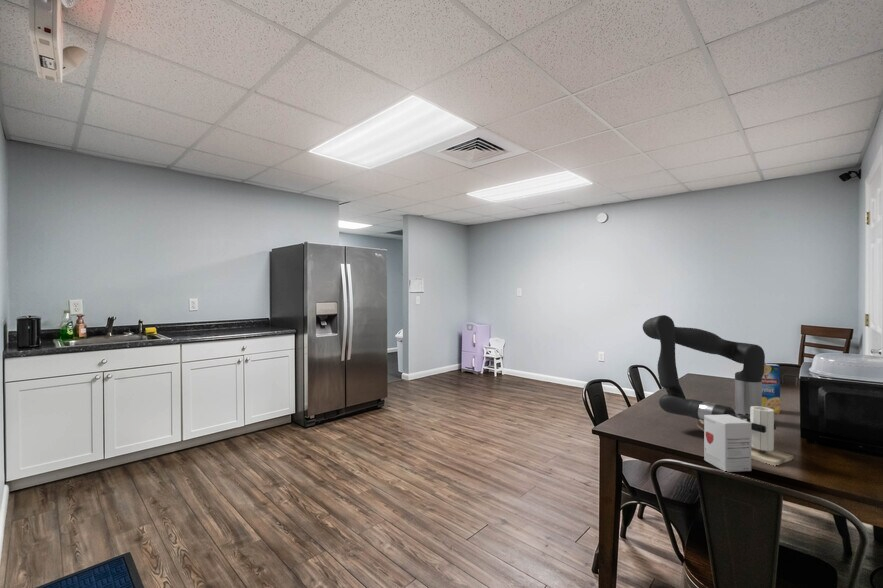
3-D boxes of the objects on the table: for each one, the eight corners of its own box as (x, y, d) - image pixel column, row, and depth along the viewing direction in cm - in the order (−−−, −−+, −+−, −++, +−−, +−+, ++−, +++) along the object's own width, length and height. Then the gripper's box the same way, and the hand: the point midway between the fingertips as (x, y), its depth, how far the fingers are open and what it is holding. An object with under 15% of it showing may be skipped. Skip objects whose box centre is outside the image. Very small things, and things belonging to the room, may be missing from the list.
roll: (755, 442, 135) (755, 405, 135) (777, 449, 130) (777, 410, 130) (746, 445, 133) (746, 407, 133) (768, 452, 127) (768, 412, 127)
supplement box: (702, 460, 128) (702, 414, 128) (728, 459, 128) (728, 413, 129) (725, 472, 119) (725, 423, 119) (752, 471, 119) (752, 422, 119)
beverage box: (780, 413, 179) (780, 365, 179) (751, 411, 183) (751, 364, 183) (773, 409, 186) (773, 363, 186) (745, 407, 189) (745, 362, 189)
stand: (751, 446, 139) (751, 418, 139) (793, 459, 128) (793, 428, 128) (732, 452, 134) (732, 422, 134) (774, 466, 123) (774, 433, 123)
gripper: (704, 406, 141) (759, 419, 126) (727, 401, 147) (781, 414, 132) (704, 427, 141) (759, 443, 126) (727, 421, 147) (781, 436, 132)
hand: (770, 428), depth 129 cm, fingers closed on roll, 6 cm apart
